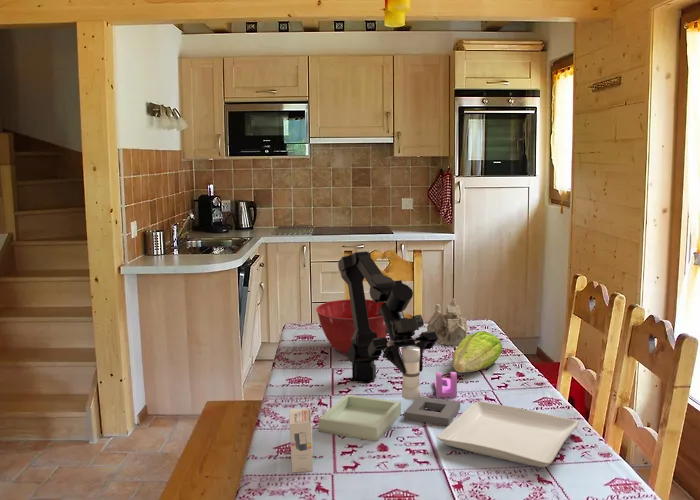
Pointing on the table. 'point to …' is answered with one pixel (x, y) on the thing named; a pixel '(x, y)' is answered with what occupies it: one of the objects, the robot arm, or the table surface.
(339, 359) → the table surface
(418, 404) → the fuse holder
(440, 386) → the bracket
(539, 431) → the square plate
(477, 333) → the lettuce
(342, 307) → the mixing bowl
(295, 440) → the ink box
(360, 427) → the tray
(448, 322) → the ceramic cottage
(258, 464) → the table surface
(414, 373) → the cream salt shaker
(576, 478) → the table surface
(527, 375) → the table surface
